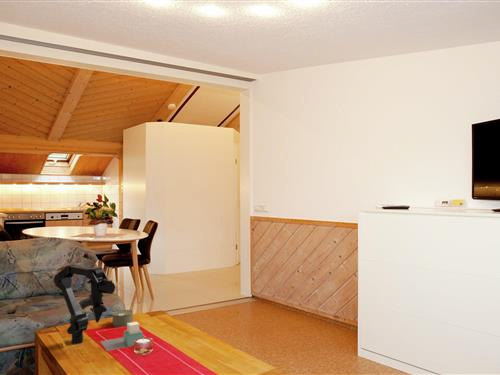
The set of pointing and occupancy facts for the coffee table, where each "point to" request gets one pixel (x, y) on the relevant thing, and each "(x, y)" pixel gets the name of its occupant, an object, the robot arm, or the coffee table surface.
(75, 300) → the robot arm
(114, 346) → the plate
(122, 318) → the can
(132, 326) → the off-white block
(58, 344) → the coffee table surface
